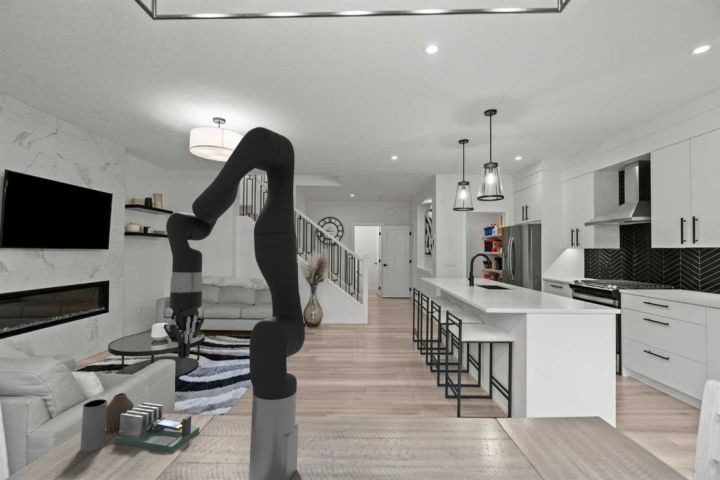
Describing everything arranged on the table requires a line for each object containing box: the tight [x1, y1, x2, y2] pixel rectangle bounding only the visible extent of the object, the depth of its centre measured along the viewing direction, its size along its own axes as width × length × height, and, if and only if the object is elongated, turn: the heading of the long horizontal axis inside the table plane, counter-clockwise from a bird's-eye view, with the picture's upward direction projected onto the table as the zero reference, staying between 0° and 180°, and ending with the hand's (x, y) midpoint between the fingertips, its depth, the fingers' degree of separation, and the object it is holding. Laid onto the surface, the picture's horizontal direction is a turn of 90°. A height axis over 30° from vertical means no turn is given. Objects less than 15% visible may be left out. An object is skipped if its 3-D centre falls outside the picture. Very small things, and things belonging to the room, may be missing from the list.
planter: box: [80, 398, 108, 453], centre depth 84 cm, size 4×4×10 cm
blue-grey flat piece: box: [152, 416, 182, 431], centre depth 90 cm, size 7×3×1 cm, turn 78°
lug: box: [179, 415, 192, 436], centre depth 89 cm, size 2×2×4 cm
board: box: [113, 425, 201, 453], centre depth 89 cm, size 16×10×1 cm, turn 79°
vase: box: [105, 392, 135, 433], centre depth 93 cm, size 7×7×9 cm
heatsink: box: [117, 402, 165, 439], centre depth 90 cm, size 8×8×5 cm
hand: (183, 357), depth 91 cm, fingers closed
